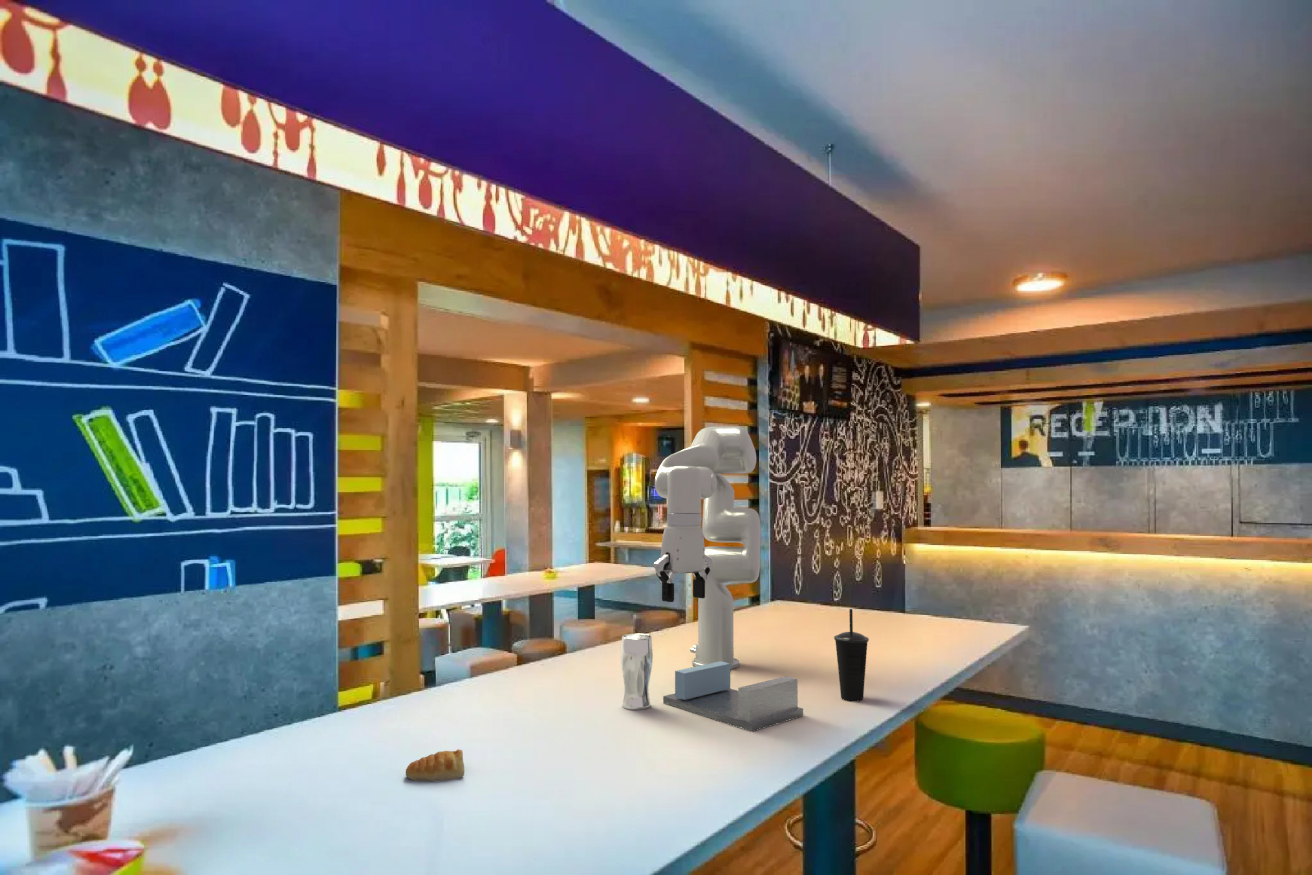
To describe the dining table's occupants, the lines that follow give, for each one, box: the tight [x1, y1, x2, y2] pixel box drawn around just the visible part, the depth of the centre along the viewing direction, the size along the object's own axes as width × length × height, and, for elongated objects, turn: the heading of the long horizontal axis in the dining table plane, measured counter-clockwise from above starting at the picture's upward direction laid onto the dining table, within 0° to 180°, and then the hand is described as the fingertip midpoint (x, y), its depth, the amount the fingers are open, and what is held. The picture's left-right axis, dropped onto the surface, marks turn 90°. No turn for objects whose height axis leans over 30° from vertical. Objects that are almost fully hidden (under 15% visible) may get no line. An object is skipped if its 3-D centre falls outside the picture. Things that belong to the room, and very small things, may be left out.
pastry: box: [405, 748, 465, 782], centre depth 126 cm, size 9×7×4 cm
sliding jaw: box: [674, 661, 731, 700], centre depth 170 cm, size 3×14×6 cm, turn 131°
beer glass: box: [620, 633, 654, 711], centre depth 166 cm, size 7×7×15 cm
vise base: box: [662, 675, 804, 732], centre depth 164 cm, size 26×16×8 cm, turn 41°
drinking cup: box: [833, 608, 870, 702], centre depth 173 cm, size 8×8×20 cm
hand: (683, 599), depth 168 cm, fingers open, 9 cm apart
